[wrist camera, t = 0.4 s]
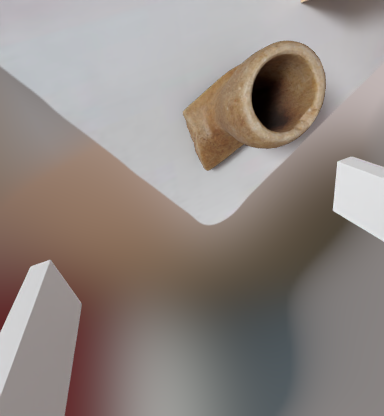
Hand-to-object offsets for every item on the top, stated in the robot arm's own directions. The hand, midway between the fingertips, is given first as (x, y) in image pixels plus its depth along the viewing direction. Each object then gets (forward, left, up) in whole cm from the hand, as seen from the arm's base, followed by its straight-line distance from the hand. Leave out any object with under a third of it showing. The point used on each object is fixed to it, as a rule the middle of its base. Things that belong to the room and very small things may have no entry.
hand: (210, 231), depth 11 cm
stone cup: (0, +12, -28) cm, 30 cm away
